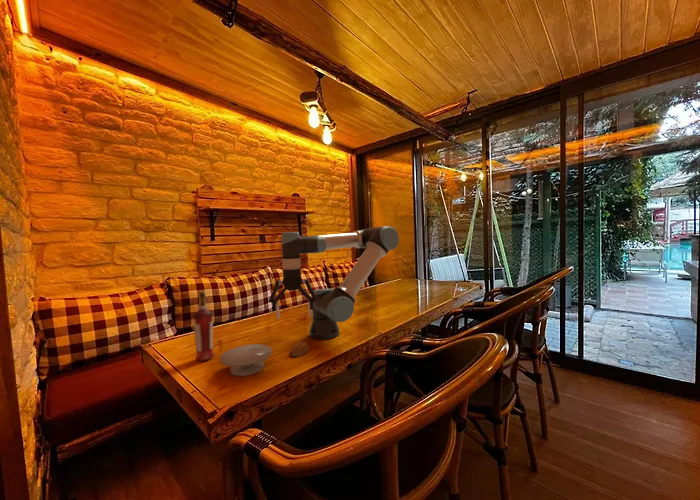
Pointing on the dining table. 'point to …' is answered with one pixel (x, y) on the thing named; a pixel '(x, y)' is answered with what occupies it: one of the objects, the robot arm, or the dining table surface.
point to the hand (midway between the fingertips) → (294, 317)
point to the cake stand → (246, 359)
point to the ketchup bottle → (203, 330)
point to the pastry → (299, 349)
